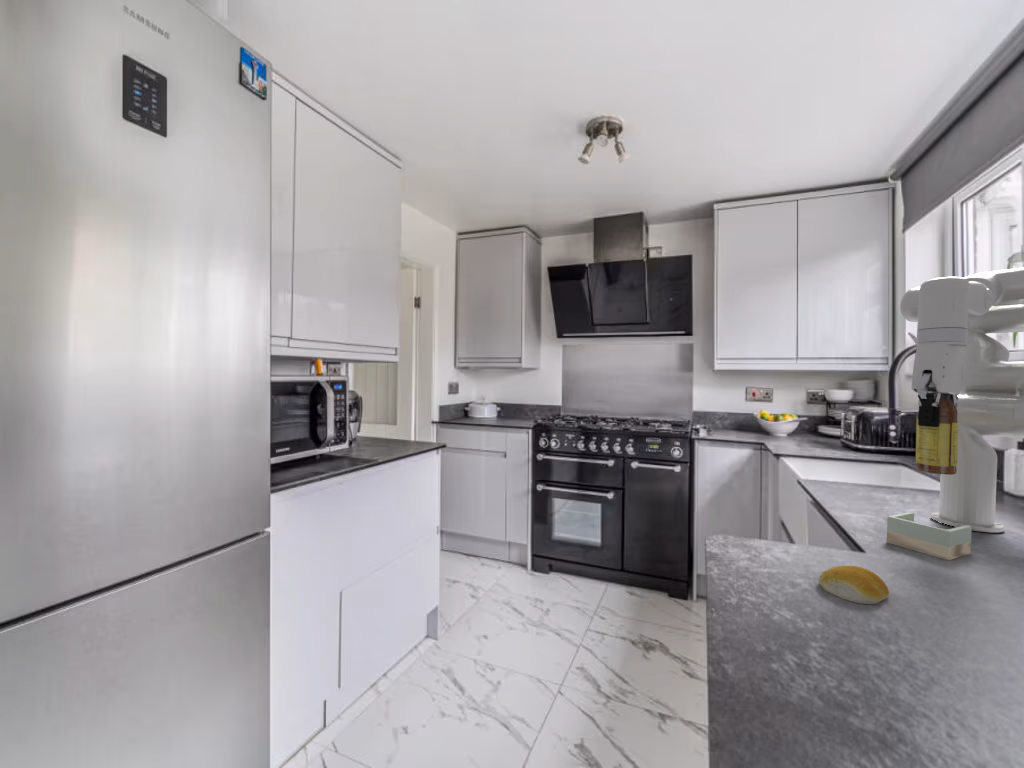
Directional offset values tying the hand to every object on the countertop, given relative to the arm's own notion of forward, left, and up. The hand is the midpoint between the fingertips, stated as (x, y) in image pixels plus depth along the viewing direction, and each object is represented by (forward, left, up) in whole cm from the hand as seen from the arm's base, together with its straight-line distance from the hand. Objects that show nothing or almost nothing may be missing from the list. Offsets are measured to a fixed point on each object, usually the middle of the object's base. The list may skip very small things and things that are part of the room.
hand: (936, 425), depth 92 cm
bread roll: (+39, +5, -26) cm, 47 cm away
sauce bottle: (0, 0, -10) cm, 10 cm away
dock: (+2, 0, -25) cm, 25 cm away
